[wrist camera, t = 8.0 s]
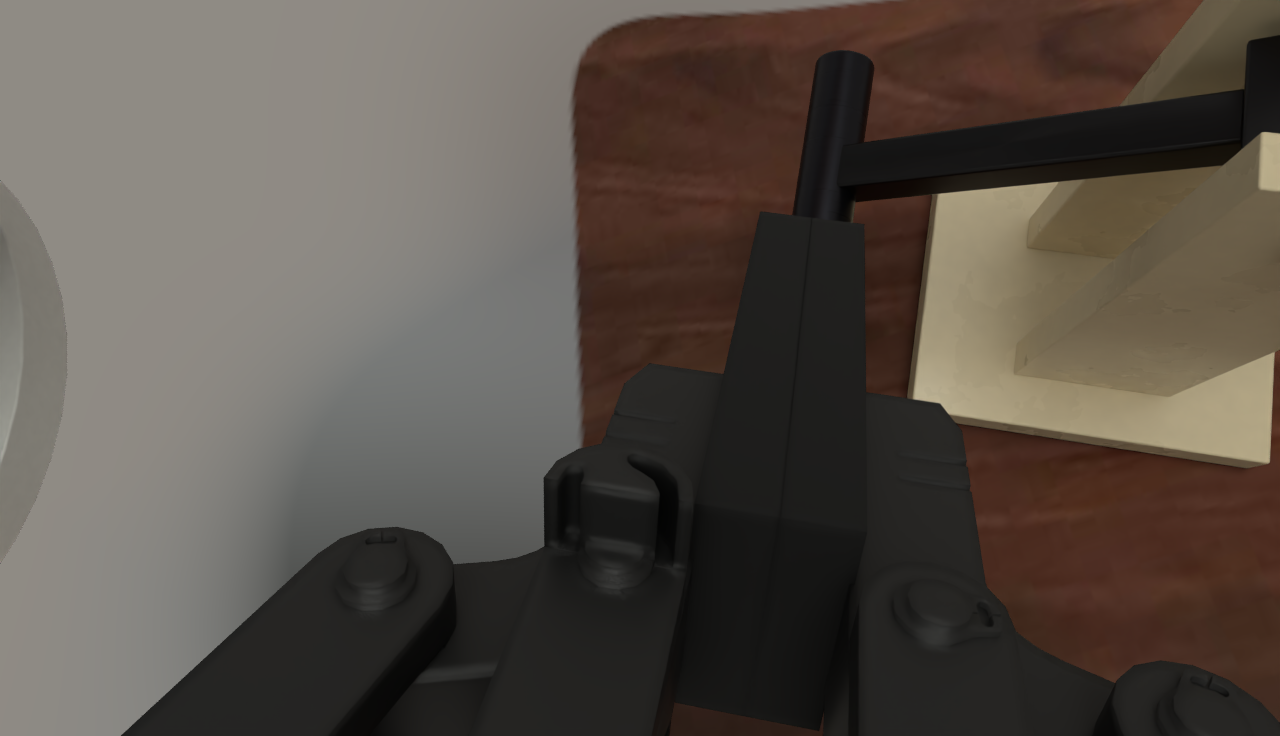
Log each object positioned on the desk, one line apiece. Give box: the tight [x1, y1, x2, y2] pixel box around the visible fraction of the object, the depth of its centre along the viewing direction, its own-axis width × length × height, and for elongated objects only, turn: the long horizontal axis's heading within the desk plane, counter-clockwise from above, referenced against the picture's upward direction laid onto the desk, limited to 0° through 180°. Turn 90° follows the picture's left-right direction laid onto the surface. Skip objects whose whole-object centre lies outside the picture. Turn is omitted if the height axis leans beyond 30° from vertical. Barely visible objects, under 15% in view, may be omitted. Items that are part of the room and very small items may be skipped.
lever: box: [792, 35, 1280, 223], centre depth 19 cm, size 12×6×2 cm
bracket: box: [907, 0, 1280, 468], centre depth 22 cm, size 10×8×15 cm
